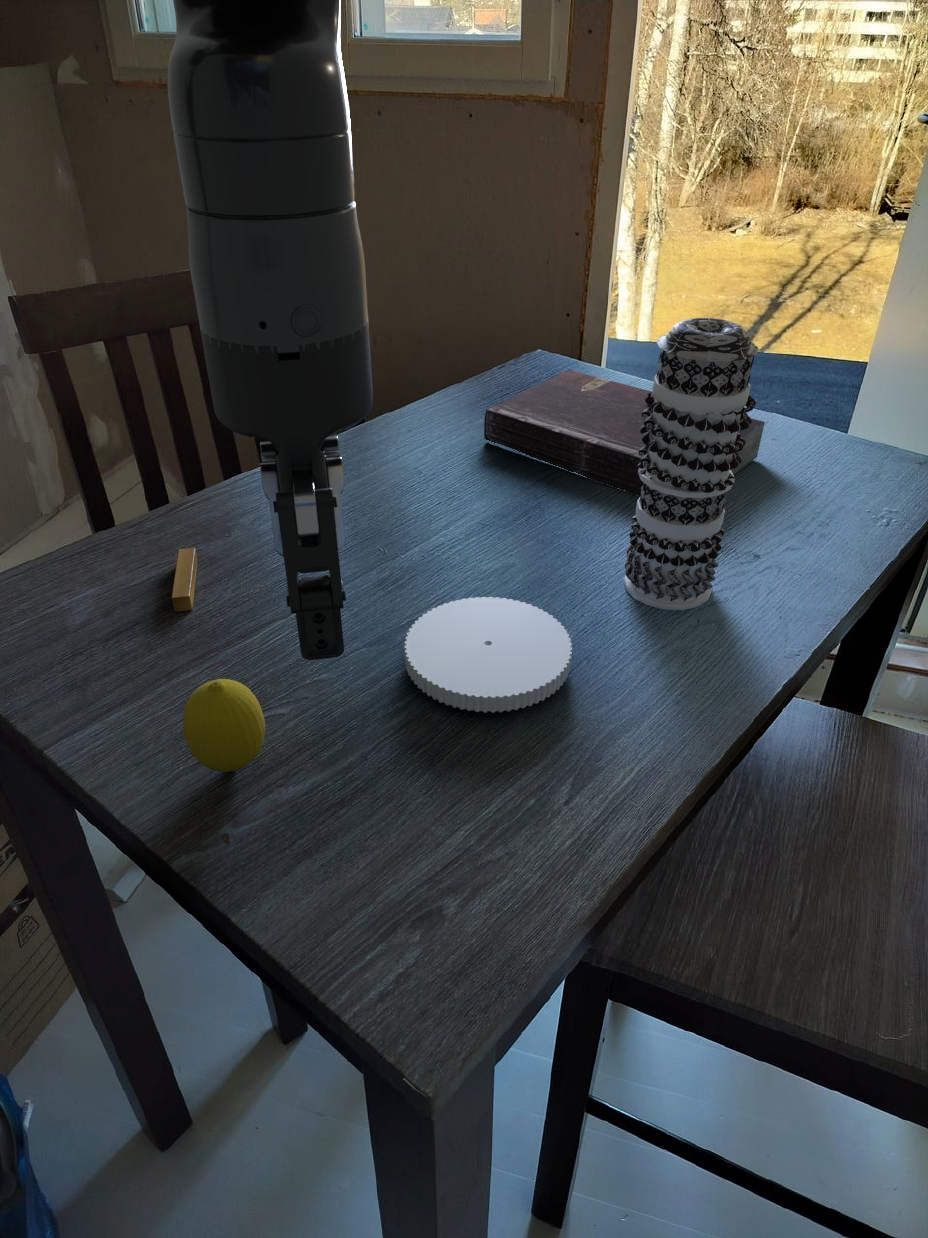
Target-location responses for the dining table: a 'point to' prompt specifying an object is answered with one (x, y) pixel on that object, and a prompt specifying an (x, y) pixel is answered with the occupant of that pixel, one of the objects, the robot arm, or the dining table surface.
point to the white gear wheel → (488, 654)
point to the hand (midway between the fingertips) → (318, 609)
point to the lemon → (224, 725)
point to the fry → (185, 580)
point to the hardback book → (586, 427)
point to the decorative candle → (688, 461)
